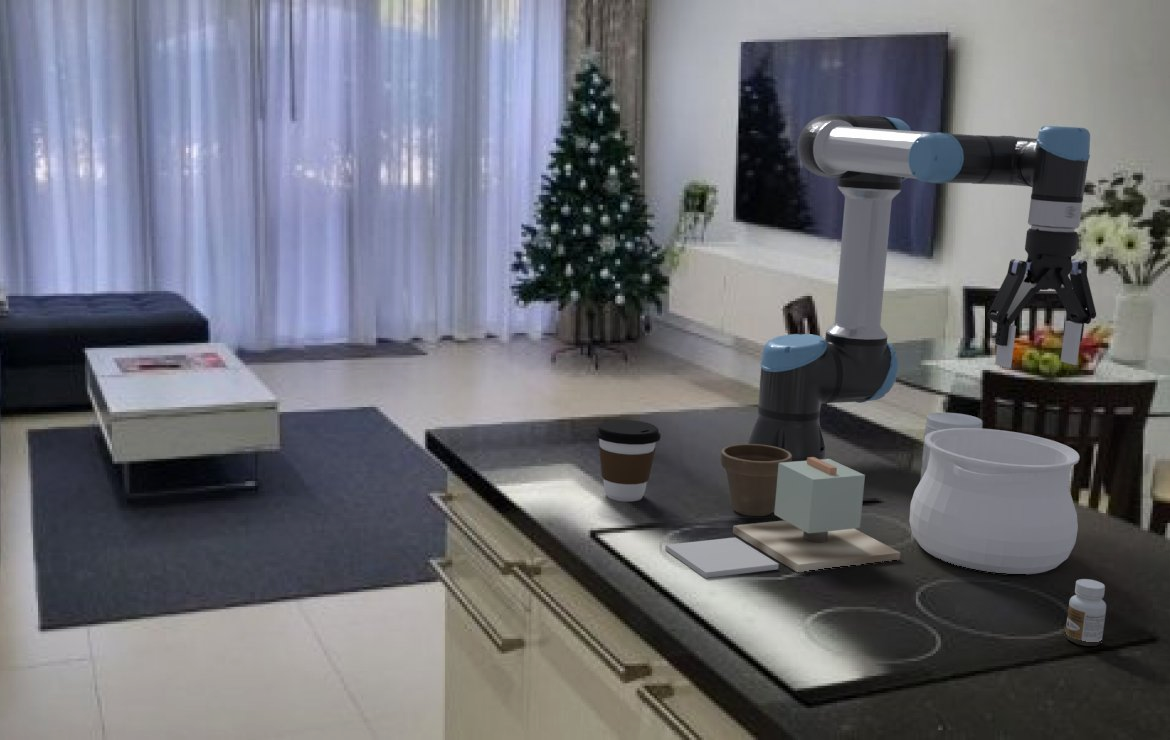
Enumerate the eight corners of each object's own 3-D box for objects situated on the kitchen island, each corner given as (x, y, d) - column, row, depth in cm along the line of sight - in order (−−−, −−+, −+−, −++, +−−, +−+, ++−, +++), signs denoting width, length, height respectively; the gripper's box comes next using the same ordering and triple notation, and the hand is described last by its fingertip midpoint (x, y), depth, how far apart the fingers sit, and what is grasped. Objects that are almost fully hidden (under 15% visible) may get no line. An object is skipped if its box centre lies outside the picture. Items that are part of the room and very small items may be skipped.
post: (732, 532, 199) (738, 464, 197) (829, 522, 206) (835, 457, 204) (797, 572, 183) (804, 498, 181) (899, 560, 190) (906, 489, 188)
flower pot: (708, 515, 207) (713, 455, 205) (726, 496, 218) (730, 439, 216) (779, 526, 203) (784, 465, 201) (793, 507, 214) (798, 448, 212)
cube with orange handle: (774, 514, 196) (779, 456, 194) (824, 509, 200) (829, 452, 198) (808, 533, 188) (813, 473, 186) (859, 527, 192) (865, 468, 190)
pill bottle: (1058, 633, 165) (1066, 577, 164) (1091, 634, 166) (1098, 577, 164) (1074, 647, 161) (1081, 589, 160) (1107, 648, 162) (1115, 590, 160)
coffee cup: (670, 497, 215) (674, 428, 213) (627, 510, 207) (631, 438, 205) (621, 483, 223) (625, 415, 220) (578, 494, 215) (581, 424, 212)
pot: (1051, 595, 179) (1066, 479, 176) (883, 557, 192) (894, 448, 188) (1088, 548, 200) (1102, 444, 197) (934, 516, 213) (945, 418, 210)
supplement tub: (986, 504, 221) (996, 421, 218) (949, 511, 216) (959, 427, 213) (943, 489, 229) (952, 409, 226) (906, 496, 224) (914, 414, 221)
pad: (665, 549, 189) (665, 544, 189) (735, 542, 194) (735, 537, 194) (705, 577, 179) (705, 572, 179) (778, 569, 184) (778, 563, 184)
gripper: (1008, 230, 188) (991, 372, 192) (1131, 231, 198) (1113, 366, 202) (973, 225, 194) (957, 362, 198) (1094, 226, 205) (1077, 357, 209)
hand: (1036, 364), depth 200 cm, fingers open, 13 cm apart
